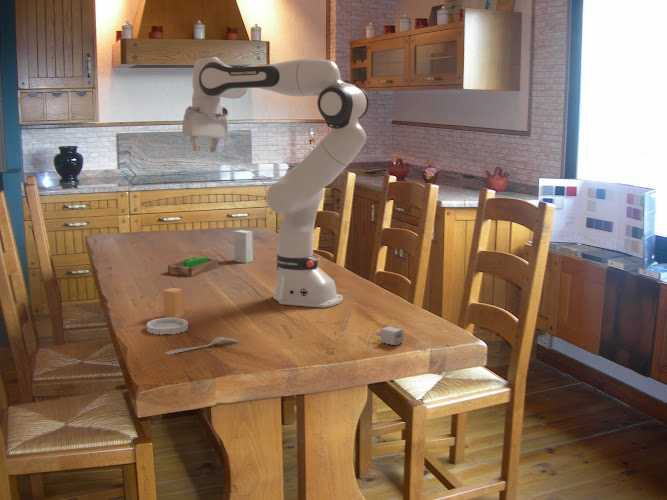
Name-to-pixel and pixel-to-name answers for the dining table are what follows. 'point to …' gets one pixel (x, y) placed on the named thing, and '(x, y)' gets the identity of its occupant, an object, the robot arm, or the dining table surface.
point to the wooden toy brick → (173, 302)
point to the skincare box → (243, 246)
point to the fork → (200, 346)
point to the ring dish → (167, 326)
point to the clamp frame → (191, 271)
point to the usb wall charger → (391, 335)
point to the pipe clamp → (195, 261)
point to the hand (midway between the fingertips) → (204, 151)
